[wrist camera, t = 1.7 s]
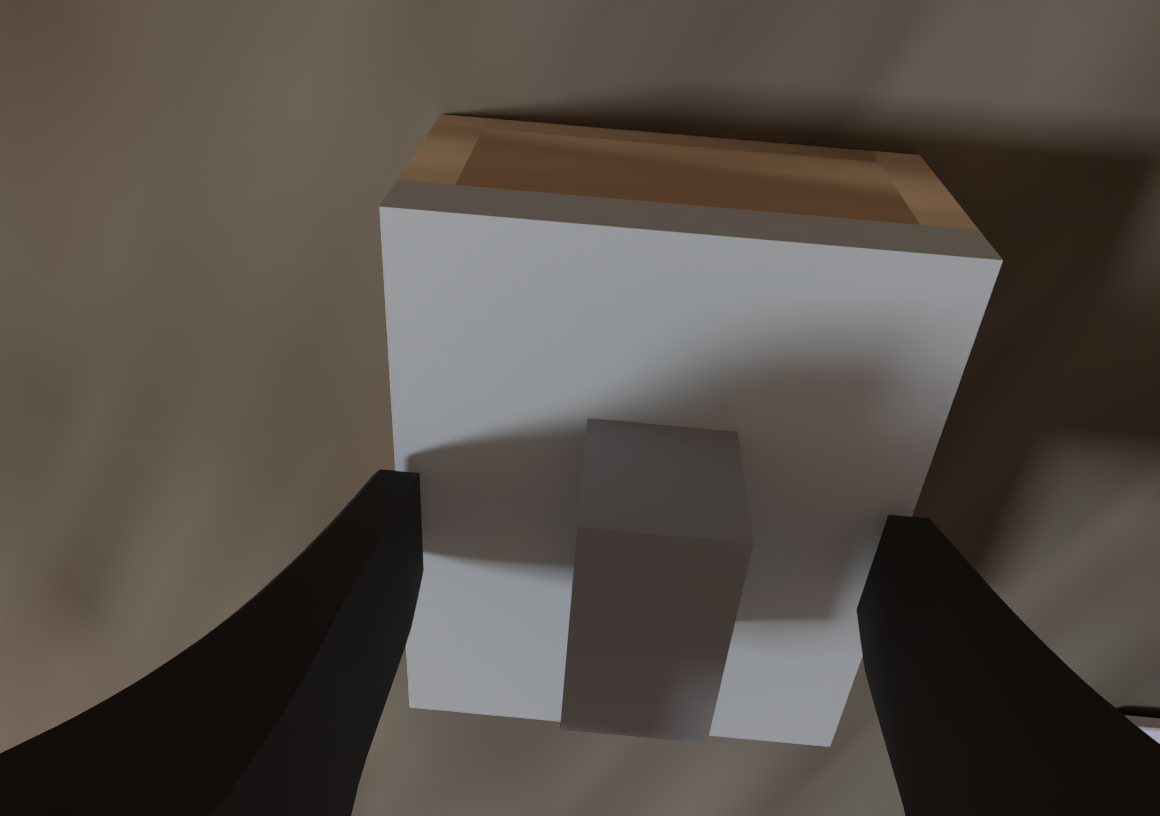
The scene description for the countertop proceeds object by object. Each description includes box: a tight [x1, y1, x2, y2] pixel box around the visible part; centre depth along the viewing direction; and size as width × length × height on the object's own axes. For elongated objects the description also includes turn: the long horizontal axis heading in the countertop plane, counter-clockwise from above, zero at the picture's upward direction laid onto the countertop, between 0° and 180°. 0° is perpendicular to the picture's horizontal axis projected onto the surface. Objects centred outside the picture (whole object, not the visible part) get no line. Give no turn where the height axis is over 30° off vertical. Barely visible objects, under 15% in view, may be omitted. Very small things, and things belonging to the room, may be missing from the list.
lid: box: [379, 180, 1003, 747], centre depth 14 cm, size 10×8×3 cm
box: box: [397, 114, 979, 230], centre depth 16 cm, size 10×8×3 cm
